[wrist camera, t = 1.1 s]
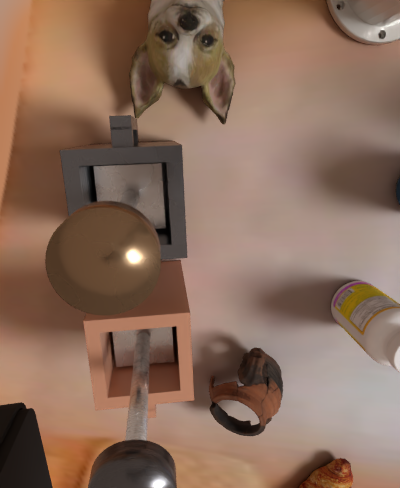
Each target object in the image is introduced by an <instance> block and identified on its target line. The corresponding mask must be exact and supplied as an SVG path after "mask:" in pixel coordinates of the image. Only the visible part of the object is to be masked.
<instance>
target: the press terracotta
mask: <svg viewBox="0 0 400 488" xmlns="http://www.w3.org/2000/svg"><path fill="white" fill-rule="evenodd" d="M83 323H84V330H85V337H86V344H87V352H88V359H89V366H90V373H91V381H92V388H93V395H94V403H95V410H104V409H114V408H124V407H129V401H130V392H131V382H132V372H133V365H132V366H121V367H116V360H115V351H114V342H113V333H112V332H114V331H126V330H138V329H150V328H161V327H172V336H173V351H174V362H164V363H154V364H149V391H148V418H154V417H156V404H163V403H172V402H182V401H192V400H194V387H193V366H192V346H191V325H190V310H189V305H188V299H187V294H186V288H185V282H184V277H183V271H182V266H181V260H179V261H164V262H161V268H160V275H159V278H158V281H157V284H156V286H155V288H154V289H153V291H152V293H151V294H150V295H149V296H148V297H147V298H146V299H145V300H144V301H143V302H142V303H141V304H139V305H138V306H137V307H135V308H133V309H131V310H129V311H126V312H124V313H120V314H115V315H94V314H90V313H86V316H85V318H84V321H83Z"/></svg>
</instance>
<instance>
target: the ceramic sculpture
mask: <svg viewBox="0 0 400 488" xmlns="http://www.w3.org/2000/svg"><path fill="white" fill-rule="evenodd" d="M223 1H224V0H151V5H150V11H149V13H148V29H149V30H148V35H147V39H146V41H145V42H144V43H143V44H142V45H141V46H139V47H138V49H137V51H136V52H135V54H134V56H133V57H132V66H131V70H130V73H129V76H130V87H131V95H132V102H133V104H134V114H135V118H139V117H140V116H141V114H142V113H143V112H144V111H145V110H146V109H147V108H148V107H150V106H151V105H152V104H153V103H155V102H156V101H158V100H159V98H160V96H161V94H162V89H163V85H164V83H167V84H169V85H171V86H174V87H177V88H181V89H187V88H194V87H198V86H201V87H202V99H203V101H204V103H205V104H206V105H207V106H208V107H209V108H210V109H211V110H212V111H213V112H214V113H215V114H216V116H217V117H218V119H219V120H220V122H221V123H222V124H226V119H227V113H228V110H229V107H230V103H231V99H232V95H233V90H234V86H235V79H234V65H233V63H232V60H231V58H230V56H229V54H228V53H227V52H226V51H225V49H224V47H223V30H224V24H225V22H224V18H223V10H222V6H223Z"/></svg>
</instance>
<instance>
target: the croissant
mask: <svg viewBox="0 0 400 488" xmlns="http://www.w3.org/2000/svg"><path fill="white" fill-rule="evenodd" d="M352 482H353V475H352V472H351V465H350V463H349V462H348V461H347V460H346V459H342V458H339V459H336V460H334V461H332V462H331V463H329V464H327V465H326V466H323V467H320V468H318V469H316V470H315V471H314V472H312V473H311V475H310V477H309V478H308V479H307V480H306V481H304V482H303V483H302V484H301V485H300V486H299V488H351V486H352Z"/></svg>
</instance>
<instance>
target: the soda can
mask: <svg viewBox="0 0 400 488" xmlns="http://www.w3.org/2000/svg"><path fill="white" fill-rule="evenodd" d="M396 195H397V200H398V202H399V204H400V177H399V179H398V181H397V184H396Z"/></svg>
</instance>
